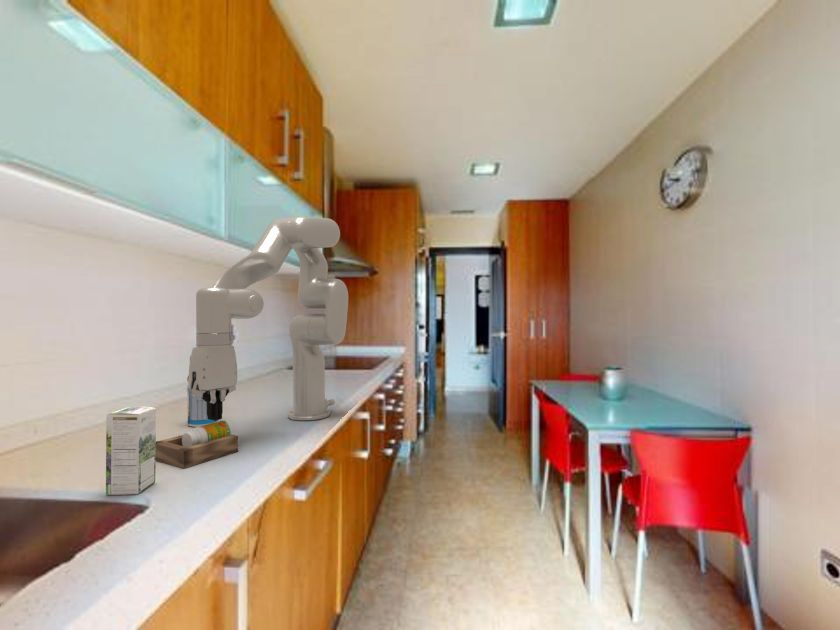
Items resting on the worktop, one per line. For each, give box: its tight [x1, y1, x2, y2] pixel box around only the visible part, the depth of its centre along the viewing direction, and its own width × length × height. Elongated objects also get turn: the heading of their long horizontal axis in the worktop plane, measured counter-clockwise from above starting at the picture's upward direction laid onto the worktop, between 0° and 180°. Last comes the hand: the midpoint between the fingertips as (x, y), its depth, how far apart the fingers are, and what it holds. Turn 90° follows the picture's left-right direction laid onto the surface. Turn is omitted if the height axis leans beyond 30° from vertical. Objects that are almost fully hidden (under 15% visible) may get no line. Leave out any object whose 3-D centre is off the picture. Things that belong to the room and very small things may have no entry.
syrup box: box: [105, 406, 157, 496], centre depth 81 cm, size 6×6×14 cm
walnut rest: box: [155, 434, 239, 470], centre depth 100 cm, size 13×12×4 cm
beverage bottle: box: [186, 355, 220, 428], centre depth 129 cm, size 8×8×20 cm
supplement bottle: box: [182, 420, 233, 447], centre depth 103 cm, size 5×5×10 cm
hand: (214, 418), depth 105 cm, fingers closed
